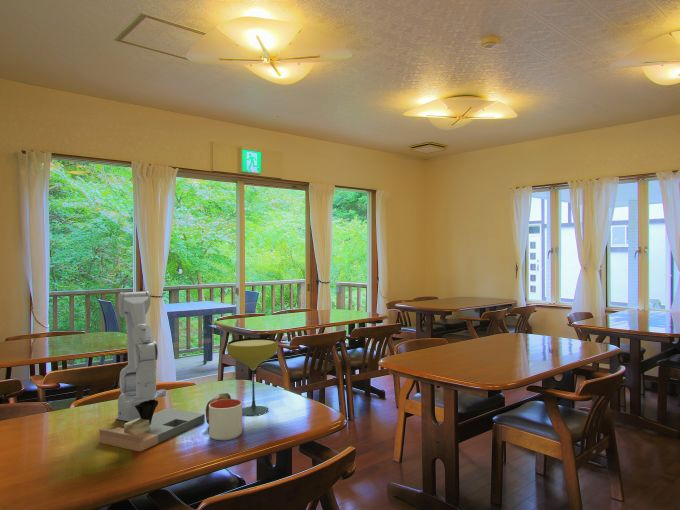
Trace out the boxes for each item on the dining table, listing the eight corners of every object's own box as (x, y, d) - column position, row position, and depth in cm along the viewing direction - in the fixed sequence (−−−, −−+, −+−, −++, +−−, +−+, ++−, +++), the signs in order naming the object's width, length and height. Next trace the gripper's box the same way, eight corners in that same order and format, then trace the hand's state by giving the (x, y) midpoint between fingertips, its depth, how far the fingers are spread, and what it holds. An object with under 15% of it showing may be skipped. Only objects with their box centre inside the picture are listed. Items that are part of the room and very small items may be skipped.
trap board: (99, 442, 142) (99, 429, 142) (167, 415, 167) (167, 403, 167) (140, 451, 135) (140, 437, 135) (204, 421, 159) (204, 409, 159)
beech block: (124, 433, 142) (124, 423, 142) (138, 427, 147) (138, 418, 147) (134, 435, 140) (134, 425, 140) (149, 429, 145) (149, 420, 145)
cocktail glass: (281, 416, 163) (280, 344, 163) (228, 421, 159) (227, 347, 159) (275, 401, 180) (274, 336, 181) (227, 405, 176) (226, 339, 176)
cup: (248, 431, 149) (247, 400, 149) (231, 443, 140) (230, 410, 140) (221, 428, 152) (220, 397, 153) (202, 439, 143) (202, 407, 143)
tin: (212, 429, 152) (212, 403, 152) (204, 428, 153) (203, 402, 153) (232, 414, 167) (232, 390, 167) (224, 413, 168) (224, 389, 168)
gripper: (136, 388, 140) (137, 434, 139) (172, 377, 153) (173, 419, 153) (119, 386, 143) (120, 431, 142) (156, 375, 156) (157, 416, 156)
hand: (146, 424), depth 148 cm, fingers closed
